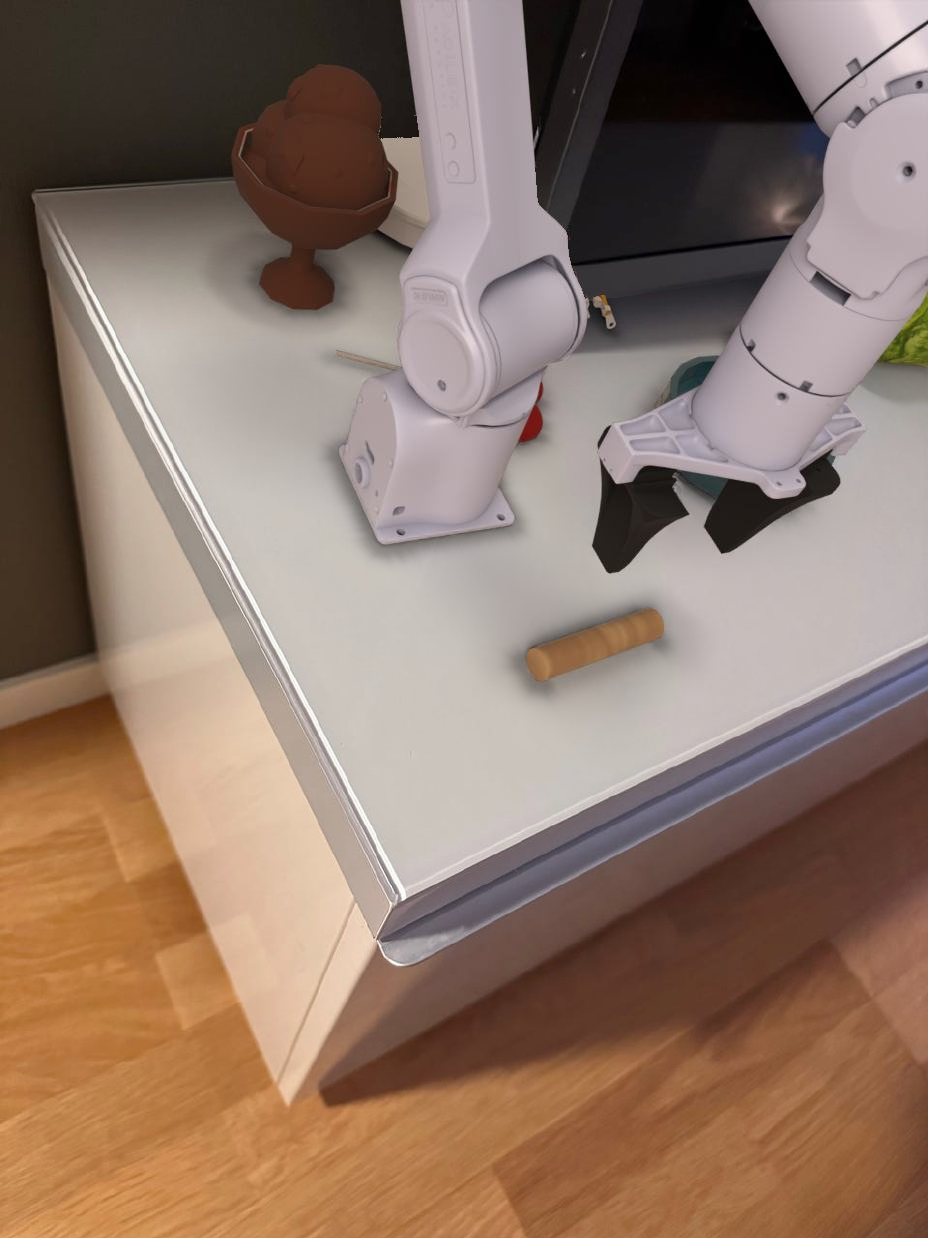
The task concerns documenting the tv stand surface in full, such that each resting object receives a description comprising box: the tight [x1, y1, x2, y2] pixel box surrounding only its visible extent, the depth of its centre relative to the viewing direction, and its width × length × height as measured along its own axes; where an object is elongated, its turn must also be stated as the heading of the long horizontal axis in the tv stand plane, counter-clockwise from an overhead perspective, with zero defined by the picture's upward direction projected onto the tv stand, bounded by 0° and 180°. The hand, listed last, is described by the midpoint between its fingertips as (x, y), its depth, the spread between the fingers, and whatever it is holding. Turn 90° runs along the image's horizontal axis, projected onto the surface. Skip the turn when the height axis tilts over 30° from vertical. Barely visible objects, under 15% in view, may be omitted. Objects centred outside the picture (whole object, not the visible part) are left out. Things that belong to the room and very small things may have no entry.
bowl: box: [653, 354, 837, 499], centre depth 71 cm, size 13×13×4 cm
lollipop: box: [335, 349, 544, 443], centre depth 67 cm, size 8×1×15 cm
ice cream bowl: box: [230, 63, 399, 311], centre depth 64 cm, size 11×11×15 cm
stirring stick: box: [525, 607, 665, 683], centre depth 56 cm, size 2×2×9 cm
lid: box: [377, 137, 430, 250], centre depth 81 cm, size 17×20×3 cm
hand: (662, 548), depth 52 cm, fingers open, 7 cm apart
